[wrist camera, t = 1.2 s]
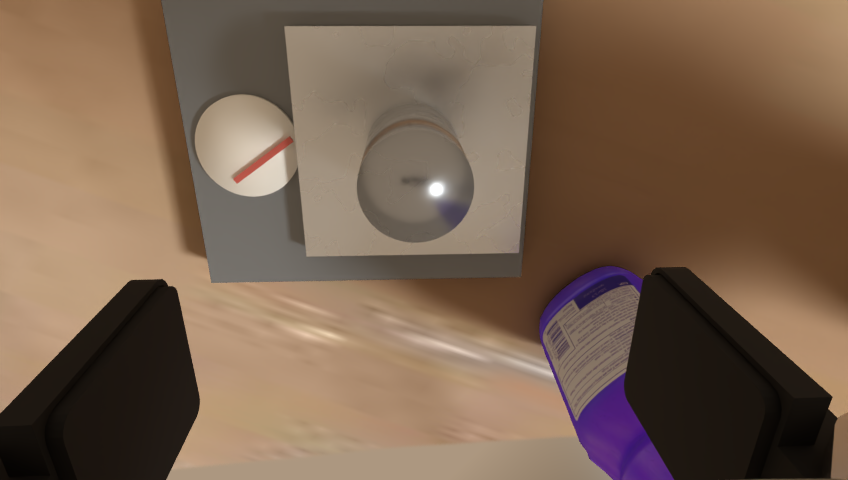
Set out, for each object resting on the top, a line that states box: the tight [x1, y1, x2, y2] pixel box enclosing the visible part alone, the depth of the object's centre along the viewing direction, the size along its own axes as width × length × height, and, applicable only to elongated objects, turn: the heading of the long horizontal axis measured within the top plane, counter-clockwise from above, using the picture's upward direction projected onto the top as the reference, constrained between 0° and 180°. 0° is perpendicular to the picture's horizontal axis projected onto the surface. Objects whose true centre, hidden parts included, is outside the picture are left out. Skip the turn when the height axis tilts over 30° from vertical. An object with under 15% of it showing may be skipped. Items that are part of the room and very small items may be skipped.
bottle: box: [539, 266, 674, 480], centre depth 25 cm, size 7×6×17 cm
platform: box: [284, 25, 536, 257], centre depth 26 cm, size 11×11×1 cm
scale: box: [161, 0, 543, 283], centre depth 27 cm, size 17×15×3 cm
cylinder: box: [357, 103, 474, 243], centre depth 23 cm, size 4×4×6 cm
